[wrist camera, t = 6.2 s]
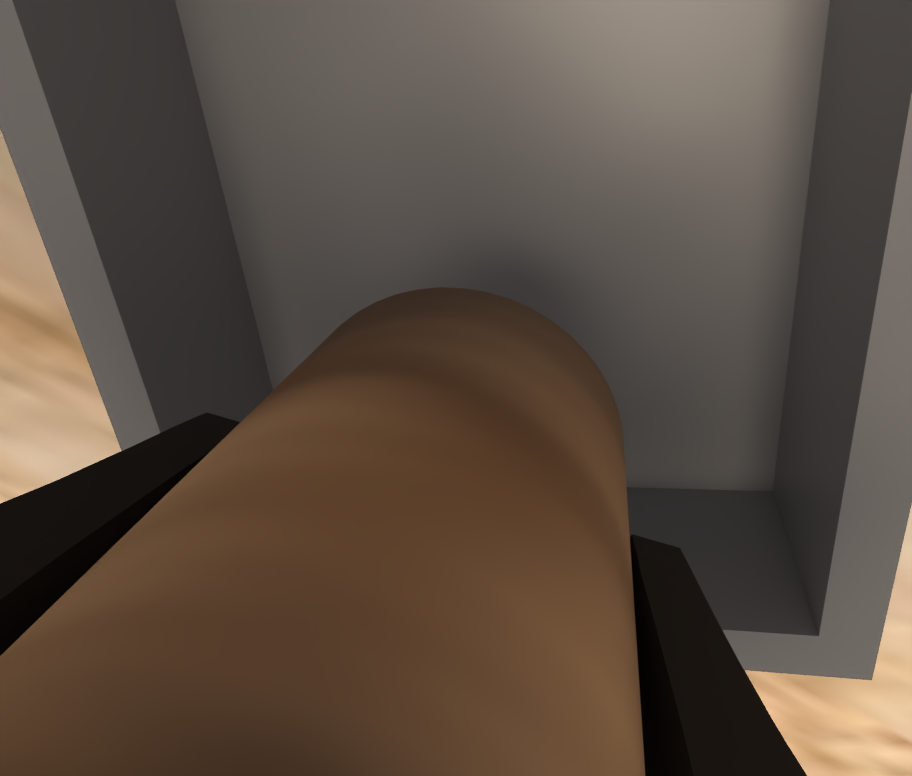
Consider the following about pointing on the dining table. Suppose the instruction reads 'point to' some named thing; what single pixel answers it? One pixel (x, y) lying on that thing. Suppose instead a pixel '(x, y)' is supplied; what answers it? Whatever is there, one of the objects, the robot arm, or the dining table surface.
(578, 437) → the walnut cylinder
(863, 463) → the tote
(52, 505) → the robot arm
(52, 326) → the dining table surface
